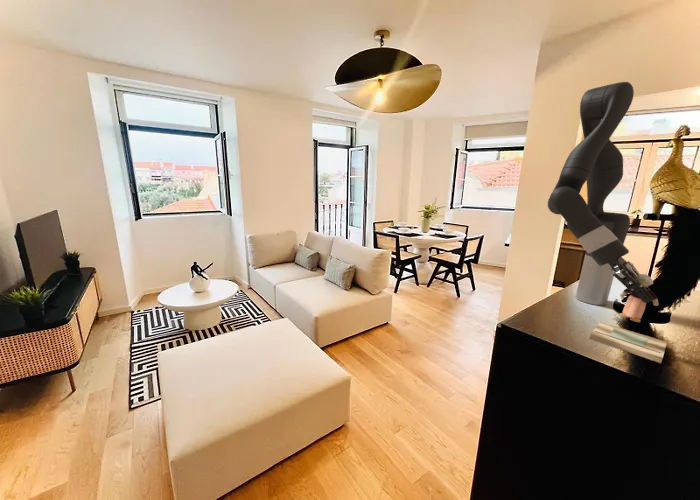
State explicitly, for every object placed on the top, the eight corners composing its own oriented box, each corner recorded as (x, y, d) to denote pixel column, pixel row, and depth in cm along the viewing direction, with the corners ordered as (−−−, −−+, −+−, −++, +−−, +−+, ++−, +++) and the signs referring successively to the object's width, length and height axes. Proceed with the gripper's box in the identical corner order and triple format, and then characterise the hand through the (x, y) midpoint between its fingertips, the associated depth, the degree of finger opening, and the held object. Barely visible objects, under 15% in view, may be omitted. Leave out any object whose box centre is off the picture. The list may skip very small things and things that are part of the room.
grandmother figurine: (612, 315, 79) (624, 271, 77) (614, 312, 82) (627, 270, 79) (651, 326, 73) (666, 279, 71) (653, 323, 76) (668, 278, 73)
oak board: (599, 326, 88) (600, 321, 88) (665, 347, 78) (667, 341, 77) (589, 338, 81) (590, 333, 80) (660, 363, 70) (662, 357, 70)
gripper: (611, 240, 74) (666, 300, 68) (621, 235, 83) (670, 288, 77) (581, 255, 79) (629, 312, 73) (593, 249, 88) (637, 300, 82)
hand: (650, 299), depth 75 cm, fingers closed on grandmother figurine, 2 cm apart
